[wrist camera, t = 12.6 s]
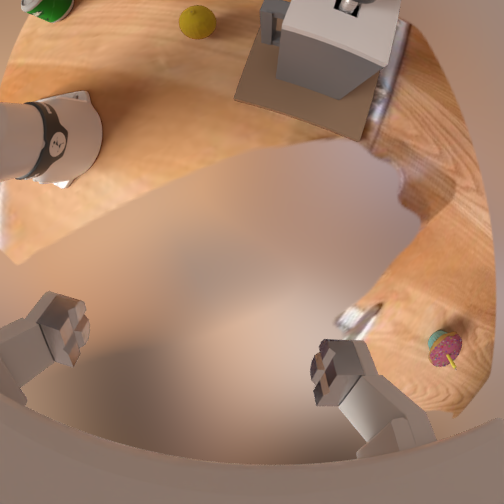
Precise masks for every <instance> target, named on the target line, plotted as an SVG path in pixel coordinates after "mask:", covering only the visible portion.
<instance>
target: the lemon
mask: <svg viewBox="0 0 504 504" xmlns="http://www.w3.org/2000/svg"><path fill="white" fill-rule="evenodd" d="M179 26H180V29H181V31H182V32H183V33H184V34H185V35H186V36H187V37H189V38H192V39H203V38H206V37H208V36H209V35H210V34H212V33H213V31H214V30H215V27H216V18H215V15H214V14H213V13H212V11H211V10H209V9H208V8H206V7H204V6H199V5H197V6H191V7H189V8H187V9H185V10H184V11H183V12H182V14H181V15H180V18H179Z"/></svg>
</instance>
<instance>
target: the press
mask: <svg viewBox="0 0 504 504" xmlns="http://www.w3.org/2000/svg"><path fill="white" fill-rule="evenodd" d="M341 1H342V0H291V2H287V1H283V0H264V2H263V4H262V7H261V9H260V25H261V26H260V28H259V31H258V33H257V36H256V39H255V41H254V44H253V46H252V49H251V51H250V54H249V57H248V59H247V62H246V65H245V67H244V70H243V73H242V76H241V79H240V81H239V84H238V87H237V90H236V93H235V96H234V100H235V101H239V102H242V103H246V104H250V105H253V106H257V107H261V108H264V109H267V110H271V111H274V112H277V113H280V114H283V115H287V116H290V117H293V118H296V119H299V120H301V121H304V122H307V123H310V124H313V125H315V126H318V127H321V128H323V129H326V130H329V131H331V132H334V133H336V134H339V135H341V136H344V137H346V138H349V139H351V140H353V141H356V142H359V141H360V139H361V135H362V132H363V129H364V126H365V122H366V119H367V116H368V112H369V109H370V105H371V102H372V99H373V95H374V91H375V88H376V84H377V80H378V77H379V73H380V70H381V69H382V68H384V67H385V66H387V65H388V61H389V57H390V53H391V49H392V44H393V40H394V35H395V30H396V26H397V21H398V16H399V10H400V4H401V0H376V1H375V2H373V3H370V4H362V3H358V4H357V6H356V8H355V9H354V11H353V12H352V14H351V15H349V14H346V13H344V12H341V11H338V10H337V9H338V7H339V5H340V3H341Z"/></svg>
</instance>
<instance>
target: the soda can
mask: <svg viewBox="0 0 504 504" xmlns="http://www.w3.org/2000/svg"><path fill="white" fill-rule="evenodd" d="M73 3H74V0H22V1H21V9H22V11H24V12H27V13H29V14H32V15H34V16H36V17H39V18H41V19H43V20H46V21H48V22H50V23H55V22H58V21H60V20H62V19H63V18H65V17H66V16H67V15H68V14H69V12H70V11H71V9H72V8H73Z"/></svg>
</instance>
